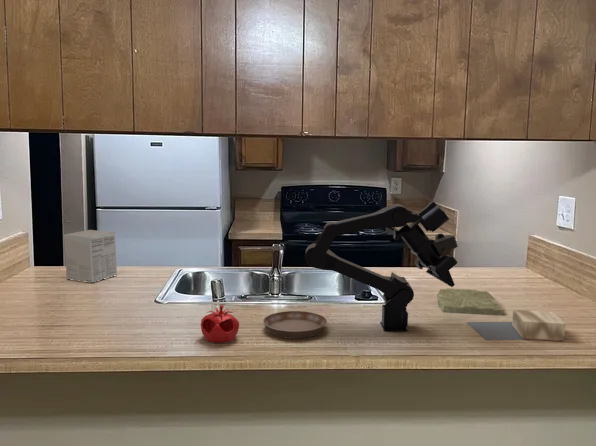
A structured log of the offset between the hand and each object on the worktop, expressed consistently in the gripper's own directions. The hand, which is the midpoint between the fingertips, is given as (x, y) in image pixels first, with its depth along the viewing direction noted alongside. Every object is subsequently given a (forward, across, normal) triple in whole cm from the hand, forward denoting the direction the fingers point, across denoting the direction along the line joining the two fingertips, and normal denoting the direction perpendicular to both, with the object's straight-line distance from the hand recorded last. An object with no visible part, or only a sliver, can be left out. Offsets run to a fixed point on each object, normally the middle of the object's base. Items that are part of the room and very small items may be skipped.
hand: (452, 285), depth 144 cm
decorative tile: (+17, +22, -3) cm, 28 cm away
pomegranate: (-30, -2, +58) cm, 65 cm away
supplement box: (-69, +63, +95) cm, 134 cm away
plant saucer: (-18, +4, +42) cm, 46 cm away
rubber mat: (+21, -2, -5) cm, 22 cm away
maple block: (+18, -4, -7) cm, 20 cm away
